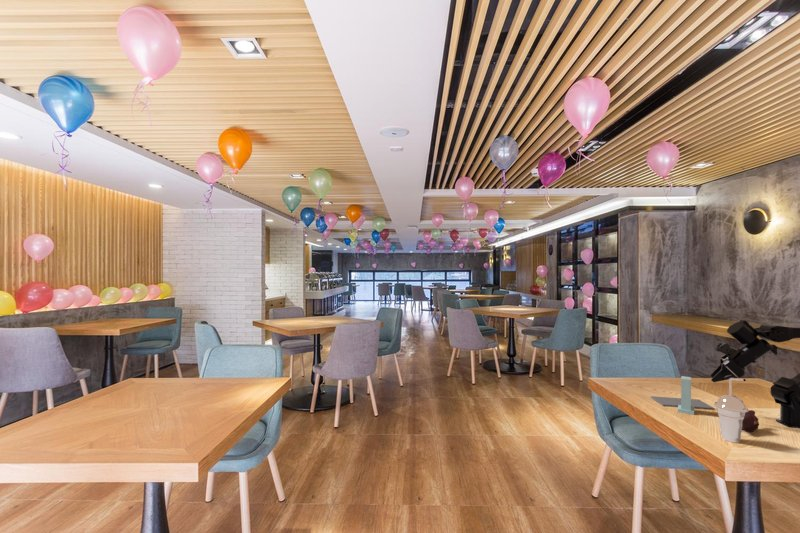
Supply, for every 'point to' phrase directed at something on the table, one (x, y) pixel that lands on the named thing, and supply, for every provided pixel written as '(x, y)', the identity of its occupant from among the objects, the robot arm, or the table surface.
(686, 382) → the number stand
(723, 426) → the cup with straw
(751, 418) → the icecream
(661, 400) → the mat
